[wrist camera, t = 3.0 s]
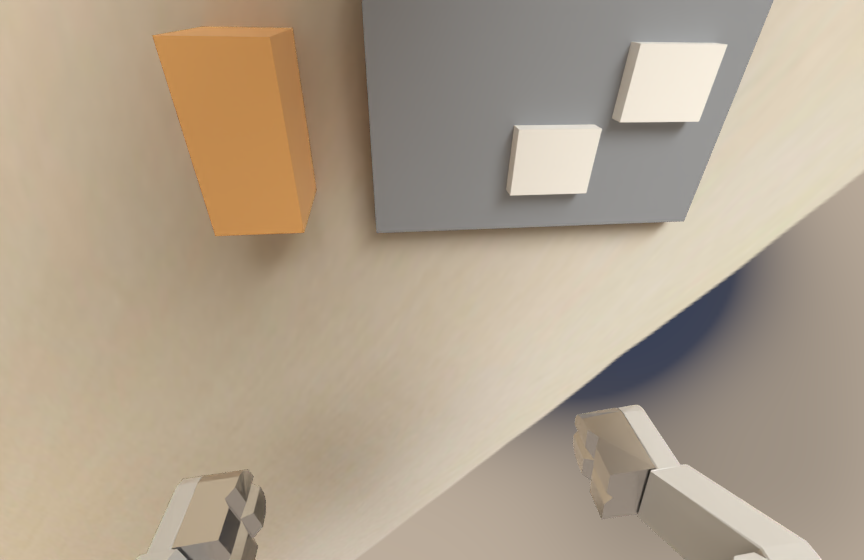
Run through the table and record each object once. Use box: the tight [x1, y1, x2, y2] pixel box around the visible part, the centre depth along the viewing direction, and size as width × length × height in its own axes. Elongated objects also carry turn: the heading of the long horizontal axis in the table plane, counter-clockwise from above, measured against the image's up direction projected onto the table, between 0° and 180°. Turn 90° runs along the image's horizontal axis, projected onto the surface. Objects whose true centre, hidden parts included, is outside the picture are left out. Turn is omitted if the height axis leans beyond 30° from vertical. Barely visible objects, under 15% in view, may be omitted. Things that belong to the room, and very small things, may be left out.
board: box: [362, 0, 773, 233], centre depth 25 cm, size 22×14×2 cm, turn 90°
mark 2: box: [612, 42, 727, 122], centre depth 24 cm, size 5×4×1 cm
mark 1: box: [506, 124, 602, 196], centre depth 25 cm, size 5×4×1 cm
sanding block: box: [152, 26, 316, 236], centre depth 22 cm, size 9×4×6 cm, turn 0°
